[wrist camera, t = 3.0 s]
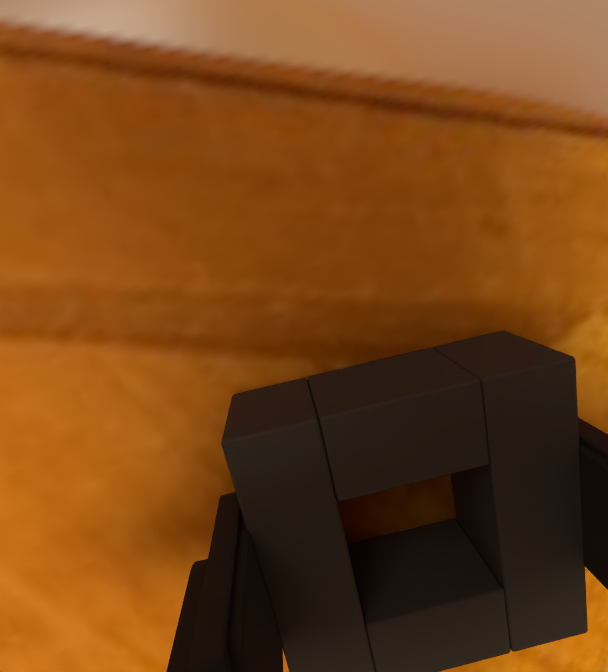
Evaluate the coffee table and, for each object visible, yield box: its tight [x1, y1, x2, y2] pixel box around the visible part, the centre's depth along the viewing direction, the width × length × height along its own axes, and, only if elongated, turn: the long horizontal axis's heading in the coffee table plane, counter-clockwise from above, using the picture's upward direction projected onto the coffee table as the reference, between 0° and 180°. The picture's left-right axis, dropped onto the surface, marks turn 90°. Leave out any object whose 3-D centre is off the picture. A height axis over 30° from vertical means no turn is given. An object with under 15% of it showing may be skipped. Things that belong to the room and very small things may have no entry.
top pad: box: [221, 331, 588, 672], centre depth 9 cm, size 7×7×2 cm
